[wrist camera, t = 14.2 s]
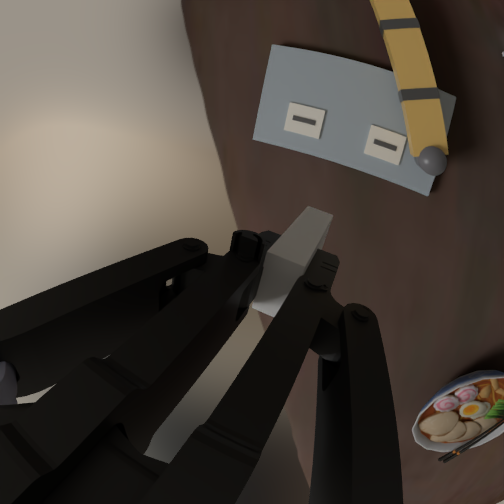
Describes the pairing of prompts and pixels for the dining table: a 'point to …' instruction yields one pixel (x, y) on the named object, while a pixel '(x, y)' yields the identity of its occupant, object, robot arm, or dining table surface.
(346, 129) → the power panel
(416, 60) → the banded tan post
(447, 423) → the ramen bowl
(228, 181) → the dining table surface
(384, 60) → the dining table surface
